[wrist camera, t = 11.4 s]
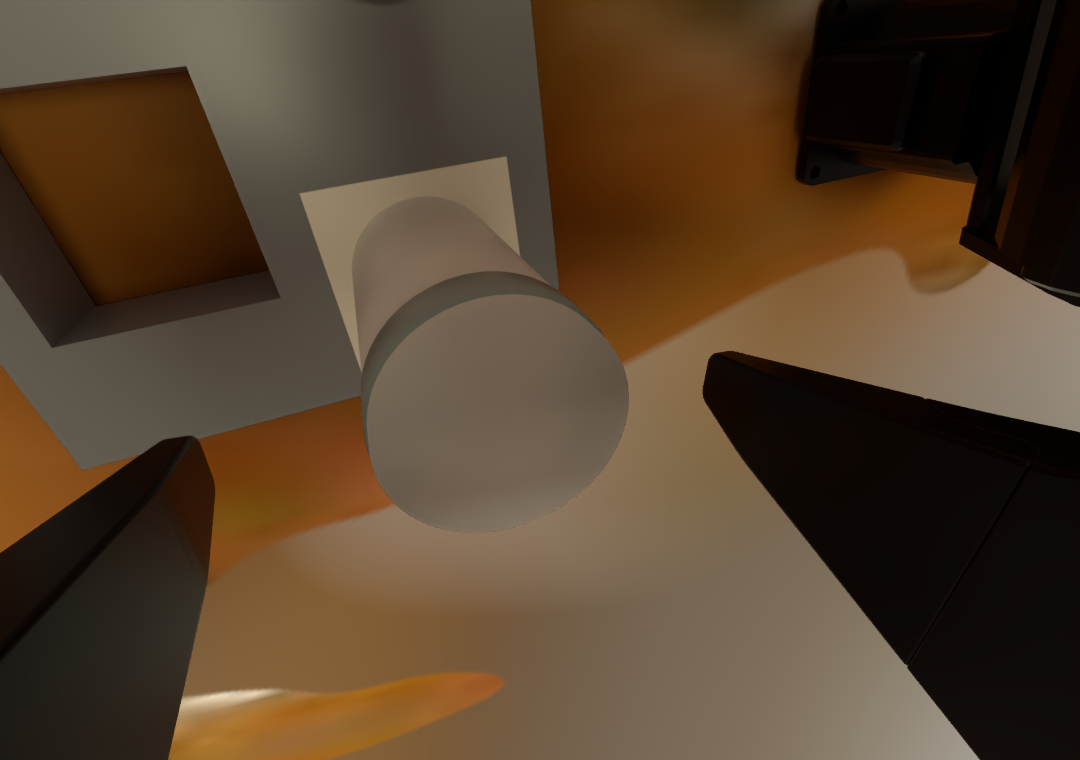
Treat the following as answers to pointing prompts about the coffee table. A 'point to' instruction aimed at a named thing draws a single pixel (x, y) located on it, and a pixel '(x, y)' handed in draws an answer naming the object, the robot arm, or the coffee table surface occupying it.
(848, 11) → the robot arm
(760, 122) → the coffee table surface
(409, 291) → the cylinder
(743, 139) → the coffee table surface
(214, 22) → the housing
